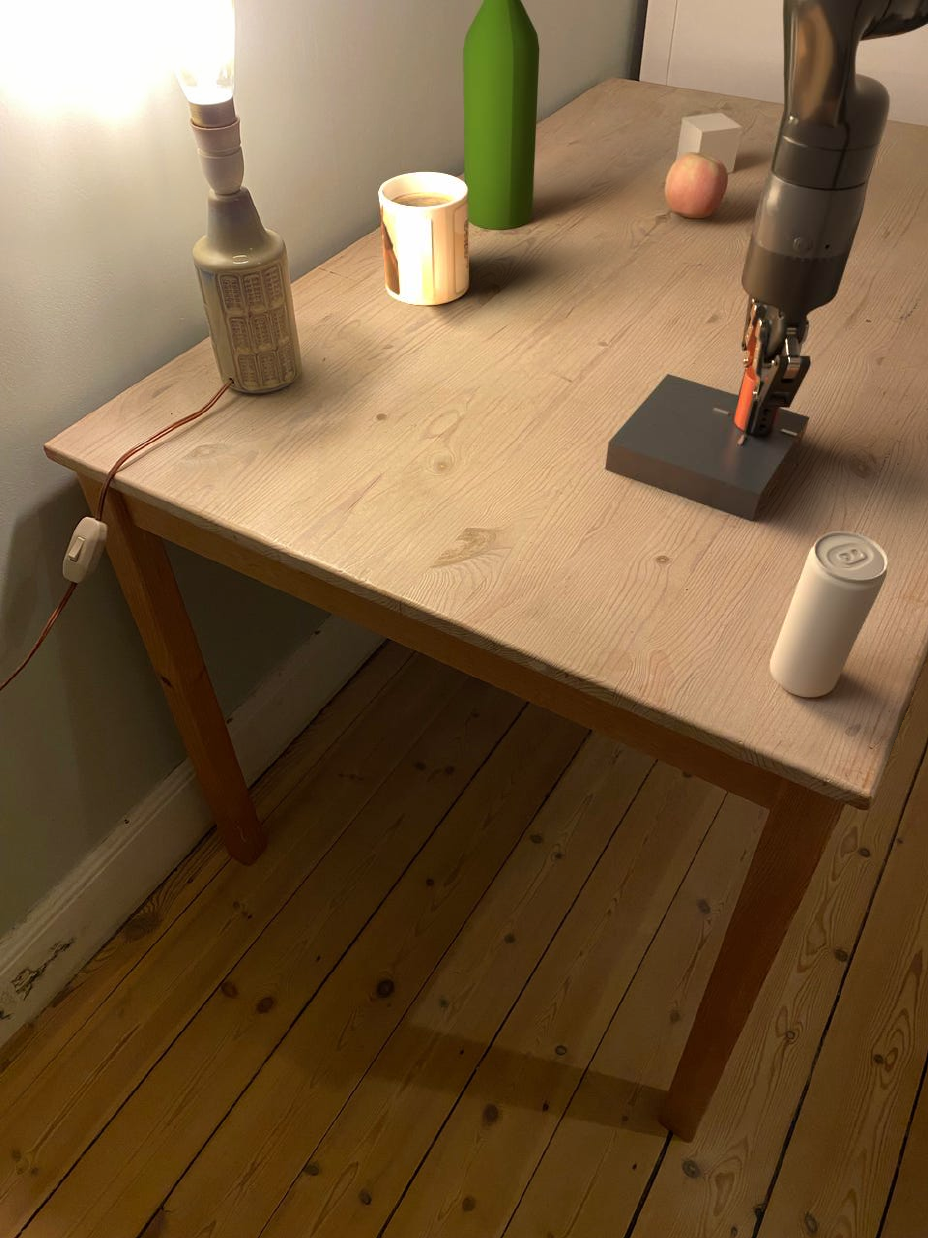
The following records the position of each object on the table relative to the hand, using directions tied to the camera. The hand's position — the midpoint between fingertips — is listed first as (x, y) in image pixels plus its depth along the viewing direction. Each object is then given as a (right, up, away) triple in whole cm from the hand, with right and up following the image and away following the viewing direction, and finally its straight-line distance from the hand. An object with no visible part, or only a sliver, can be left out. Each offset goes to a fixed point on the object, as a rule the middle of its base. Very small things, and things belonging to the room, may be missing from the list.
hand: (752, 418), depth 82 cm
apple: (+3, +34, +37) cm, 50 cm away
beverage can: (-2, -22, -16) cm, 28 cm away
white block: (+8, +47, +48) cm, 68 cm away
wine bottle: (-22, +35, +38) cm, 56 cm away
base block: (-4, -3, +2) cm, 5 cm away
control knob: (0, 0, 0) cm, 0 cm away
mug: (-31, +20, +24) cm, 44 cm away
